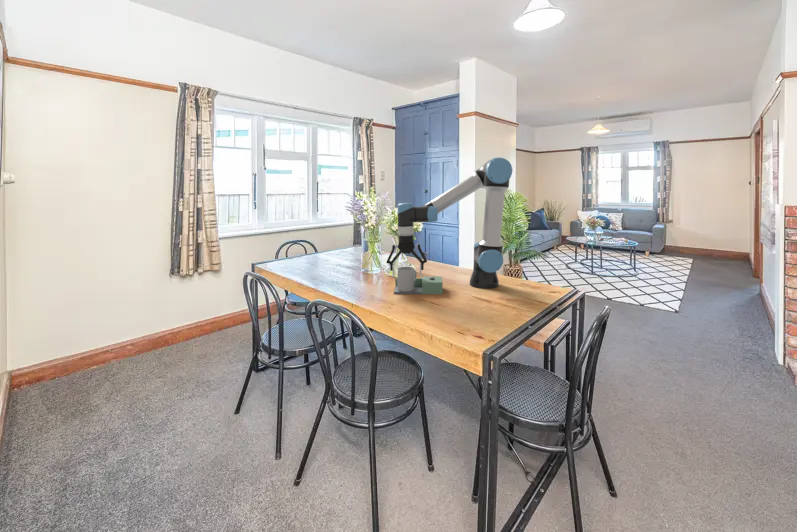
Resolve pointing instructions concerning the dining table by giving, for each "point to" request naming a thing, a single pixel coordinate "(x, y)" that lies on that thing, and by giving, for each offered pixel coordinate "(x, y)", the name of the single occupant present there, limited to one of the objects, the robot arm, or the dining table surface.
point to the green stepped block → (424, 286)
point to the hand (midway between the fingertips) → (407, 276)
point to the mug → (406, 279)
